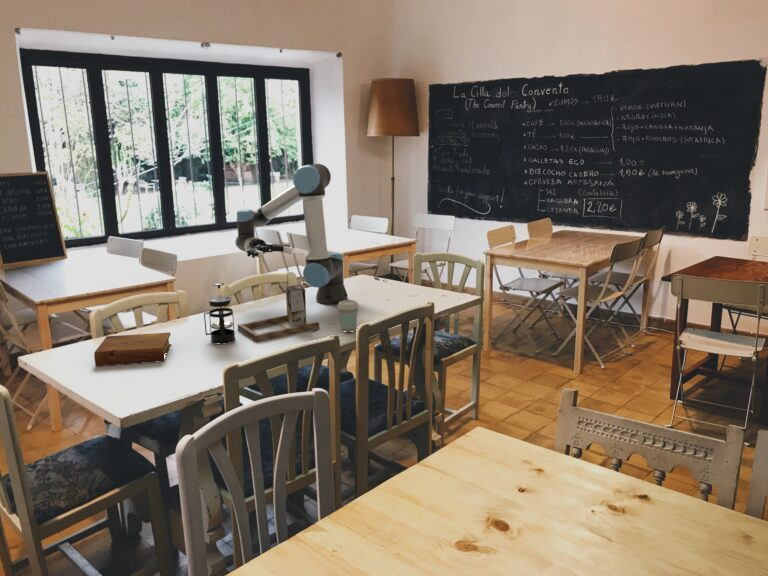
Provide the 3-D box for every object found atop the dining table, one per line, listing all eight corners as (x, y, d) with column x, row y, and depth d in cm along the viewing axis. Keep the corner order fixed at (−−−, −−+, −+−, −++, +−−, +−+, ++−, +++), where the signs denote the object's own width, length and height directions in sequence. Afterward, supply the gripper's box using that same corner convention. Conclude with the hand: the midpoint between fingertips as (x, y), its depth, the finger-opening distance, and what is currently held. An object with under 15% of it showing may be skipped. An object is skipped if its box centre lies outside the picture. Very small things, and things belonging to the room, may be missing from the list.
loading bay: (298, 318, 276) (298, 312, 276) (319, 328, 262) (319, 322, 261) (237, 330, 261) (237, 324, 260) (256, 341, 246) (255, 335, 246)
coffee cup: (360, 327, 262) (359, 299, 259) (357, 334, 254) (356, 305, 251) (339, 327, 263) (339, 299, 260) (336, 334, 255) (335, 305, 252)
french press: (236, 335, 254) (232, 279, 249) (237, 342, 246) (233, 285, 240) (206, 338, 252) (201, 281, 246) (206, 345, 243) (201, 287, 237)
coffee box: (307, 327, 263) (305, 289, 259) (291, 329, 261) (290, 291, 257) (301, 321, 272) (300, 284, 268) (287, 322, 269) (285, 285, 265)
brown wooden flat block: (95, 368, 222) (93, 353, 221) (108, 350, 240) (106, 336, 239) (164, 363, 226) (162, 347, 225) (171, 346, 244) (170, 331, 243)
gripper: (281, 251, 296) (303, 258, 279) (230, 258, 282) (250, 265, 265) (280, 235, 294) (302, 241, 277) (229, 241, 280) (249, 248, 263)
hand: (277, 253), depth 271 cm, fingers open, 13 cm apart
